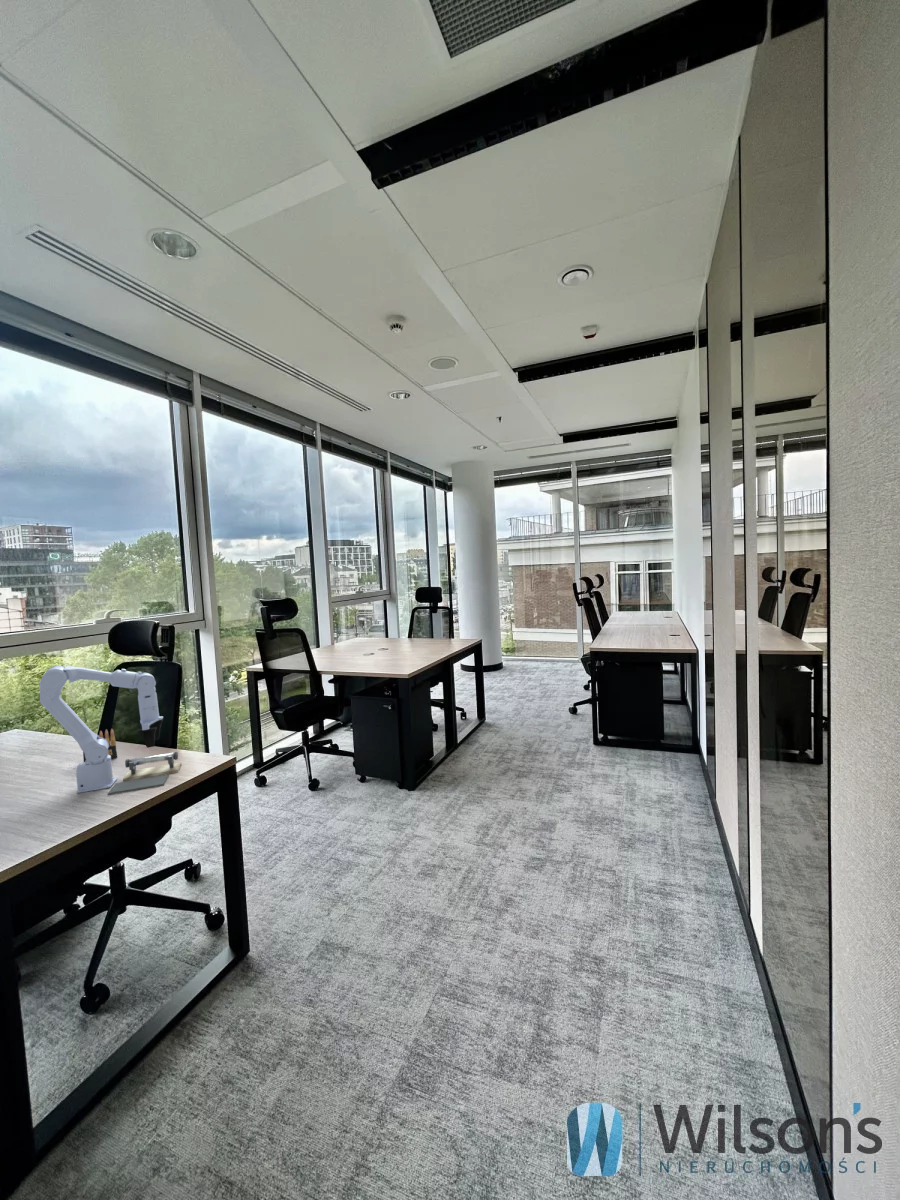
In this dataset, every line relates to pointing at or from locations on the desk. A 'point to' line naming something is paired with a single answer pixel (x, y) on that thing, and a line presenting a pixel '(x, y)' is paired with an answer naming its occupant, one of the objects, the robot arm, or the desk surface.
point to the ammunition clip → (111, 747)
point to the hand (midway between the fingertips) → (153, 743)
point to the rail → (151, 759)
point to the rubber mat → (138, 784)
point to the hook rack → (151, 770)
